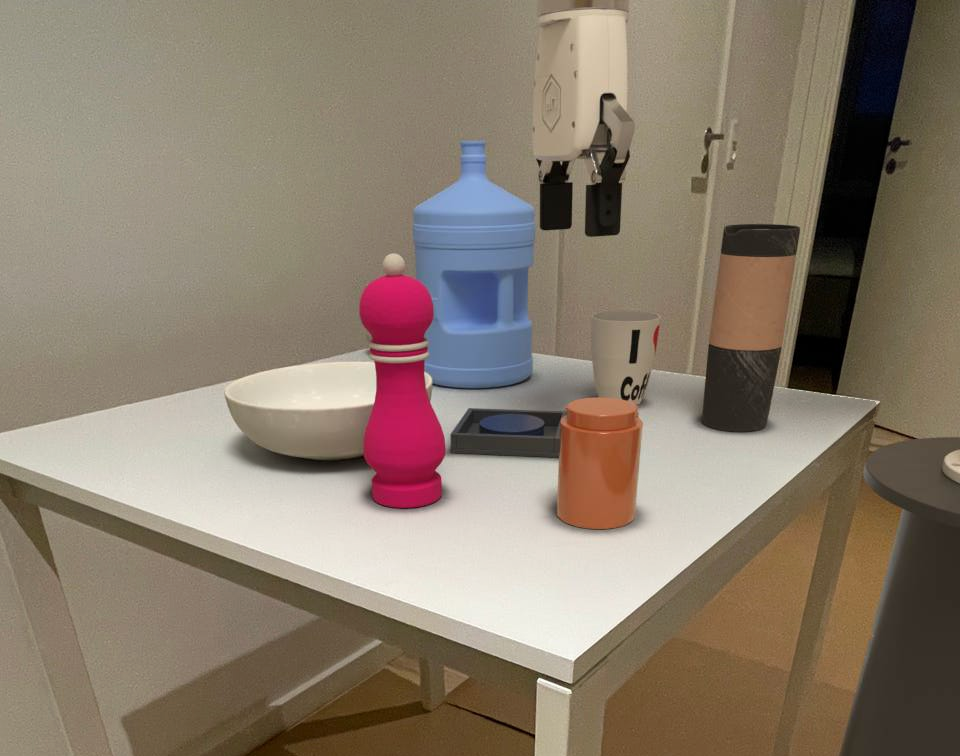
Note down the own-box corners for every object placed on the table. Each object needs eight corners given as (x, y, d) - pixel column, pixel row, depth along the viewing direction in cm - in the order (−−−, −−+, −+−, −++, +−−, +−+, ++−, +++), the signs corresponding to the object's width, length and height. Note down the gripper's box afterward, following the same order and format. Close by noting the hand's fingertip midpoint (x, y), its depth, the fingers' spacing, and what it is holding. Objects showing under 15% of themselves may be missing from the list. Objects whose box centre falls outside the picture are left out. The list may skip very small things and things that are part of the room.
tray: (567, 429, 94) (568, 411, 92) (559, 457, 85) (560, 438, 84) (468, 425, 95) (468, 407, 94) (451, 453, 87) (450, 434, 86)
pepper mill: (389, 479, 80) (373, 248, 70) (459, 487, 77) (453, 250, 67) (352, 504, 74) (329, 257, 64) (427, 515, 72) (415, 259, 62)
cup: (624, 413, 99) (631, 324, 94) (573, 401, 104) (576, 316, 99) (666, 401, 103) (674, 315, 98) (615, 390, 109) (620, 308, 104)
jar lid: (473, 444, 87) (473, 430, 87) (484, 426, 93) (484, 412, 92) (540, 447, 86) (540, 432, 86) (547, 428, 92) (547, 414, 91)
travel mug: (773, 418, 96) (805, 224, 86) (763, 436, 90) (796, 230, 80) (706, 411, 99) (730, 223, 89) (692, 428, 93) (716, 228, 83)
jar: (635, 502, 74) (644, 397, 69) (634, 531, 68) (644, 418, 64) (560, 498, 75) (564, 394, 70) (553, 527, 69) (557, 415, 65)
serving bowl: (394, 412, 100) (390, 352, 97) (466, 461, 84) (465, 392, 81) (217, 435, 93) (206, 371, 89) (259, 494, 76) (247, 419, 73)
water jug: (397, 374, 117) (384, 142, 103) (486, 359, 126) (484, 142, 112) (463, 396, 107) (458, 139, 93) (555, 378, 115) (564, 139, 101)
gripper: (502, 18, 75) (505, 229, 84) (589, -18, 61) (582, 241, 70) (578, 19, 77) (573, 225, 86) (679, -16, 63) (662, 235, 72)
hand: (577, 232), depth 78 cm, fingers open, 9 cm apart
